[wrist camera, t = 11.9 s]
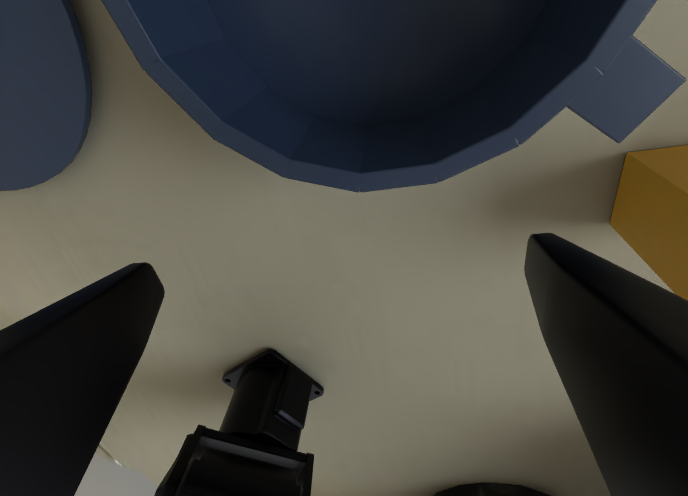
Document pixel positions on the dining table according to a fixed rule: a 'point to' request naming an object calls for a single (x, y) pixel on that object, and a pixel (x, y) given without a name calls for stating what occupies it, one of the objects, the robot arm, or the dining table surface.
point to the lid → (41, 91)
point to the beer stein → (490, 490)
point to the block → (656, 212)
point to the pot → (394, 78)
